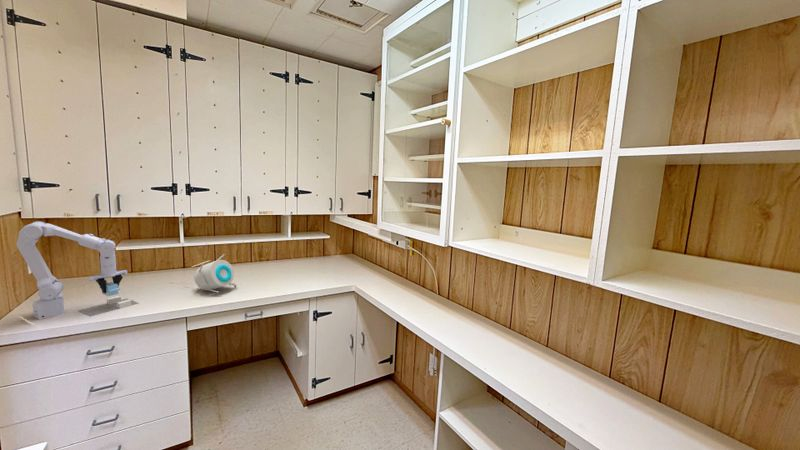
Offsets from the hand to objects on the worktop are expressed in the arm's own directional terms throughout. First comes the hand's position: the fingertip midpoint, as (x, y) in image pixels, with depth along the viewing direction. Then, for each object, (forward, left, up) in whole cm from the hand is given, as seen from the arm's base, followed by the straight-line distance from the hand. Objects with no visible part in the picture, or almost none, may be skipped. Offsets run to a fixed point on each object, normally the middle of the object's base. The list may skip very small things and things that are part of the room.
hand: (110, 291), depth 163 cm
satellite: (+44, -16, -9) cm, 47 cm away
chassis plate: (-1, 0, -9) cm, 9 cm away
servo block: (0, 0, -1) cm, 1 cm away
